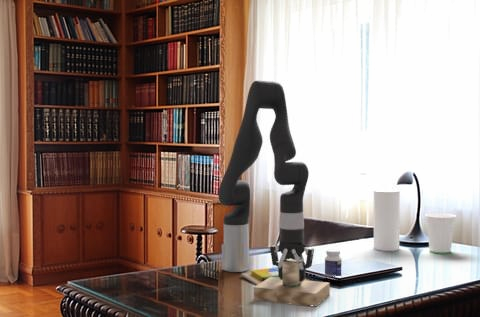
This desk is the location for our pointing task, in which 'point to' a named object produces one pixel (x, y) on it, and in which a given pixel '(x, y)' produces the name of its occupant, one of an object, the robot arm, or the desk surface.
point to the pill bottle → (332, 263)
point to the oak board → (292, 292)
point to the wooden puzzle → (261, 275)
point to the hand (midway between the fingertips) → (292, 279)
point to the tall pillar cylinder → (386, 219)
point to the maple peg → (290, 273)
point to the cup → (440, 232)
